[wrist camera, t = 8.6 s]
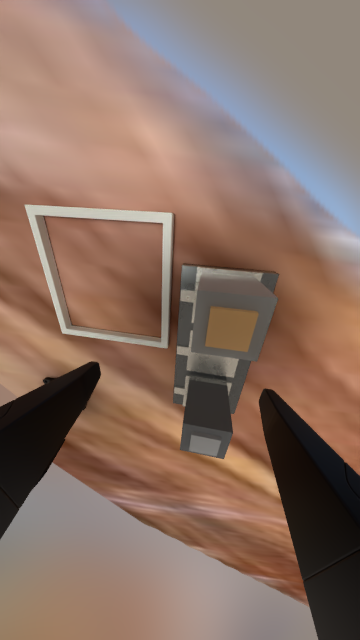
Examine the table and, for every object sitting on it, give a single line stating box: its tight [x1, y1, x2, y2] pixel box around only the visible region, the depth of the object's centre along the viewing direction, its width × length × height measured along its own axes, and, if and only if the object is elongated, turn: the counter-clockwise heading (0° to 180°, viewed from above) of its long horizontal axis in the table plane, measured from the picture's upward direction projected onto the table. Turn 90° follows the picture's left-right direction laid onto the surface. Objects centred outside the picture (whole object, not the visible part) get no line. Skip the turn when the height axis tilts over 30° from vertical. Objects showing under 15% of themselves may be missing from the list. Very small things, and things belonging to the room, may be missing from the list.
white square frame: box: [25, 205, 174, 348], centre depth 19 cm, size 15×15×1 cm
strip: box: [173, 264, 279, 414], centre depth 21 cm, size 20×9×1 cm, turn 176°
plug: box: [191, 272, 278, 361], centre depth 14 cm, size 5×5×6 cm
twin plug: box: [180, 379, 233, 459], centre depth 21 cm, size 5×5×6 cm
